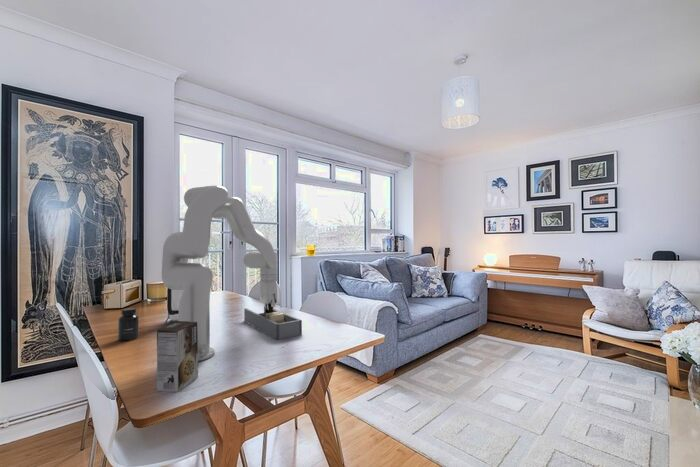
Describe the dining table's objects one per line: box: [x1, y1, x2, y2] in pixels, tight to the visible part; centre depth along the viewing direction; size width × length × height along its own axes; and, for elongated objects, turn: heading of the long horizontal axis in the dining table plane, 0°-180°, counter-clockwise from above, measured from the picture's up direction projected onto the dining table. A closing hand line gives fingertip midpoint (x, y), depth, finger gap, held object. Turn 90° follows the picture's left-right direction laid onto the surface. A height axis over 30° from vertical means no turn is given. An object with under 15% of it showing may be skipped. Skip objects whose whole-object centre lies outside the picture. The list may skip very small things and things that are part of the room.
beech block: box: [266, 311, 284, 324], centre depth 142 cm, size 6×6×4 cm
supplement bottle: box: [117, 307, 140, 342], centre depth 129 cm, size 7×7×12 cm
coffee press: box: [164, 288, 183, 325], centre depth 156 cm, size 17×16×30 cm
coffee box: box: [156, 321, 199, 393], centre depth 88 cm, size 9×6×16 cm
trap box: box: [243, 305, 303, 341], centre depth 144 cm, size 38×11×6 cm, turn 37°
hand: (269, 318), depth 146 cm, fingers closed
